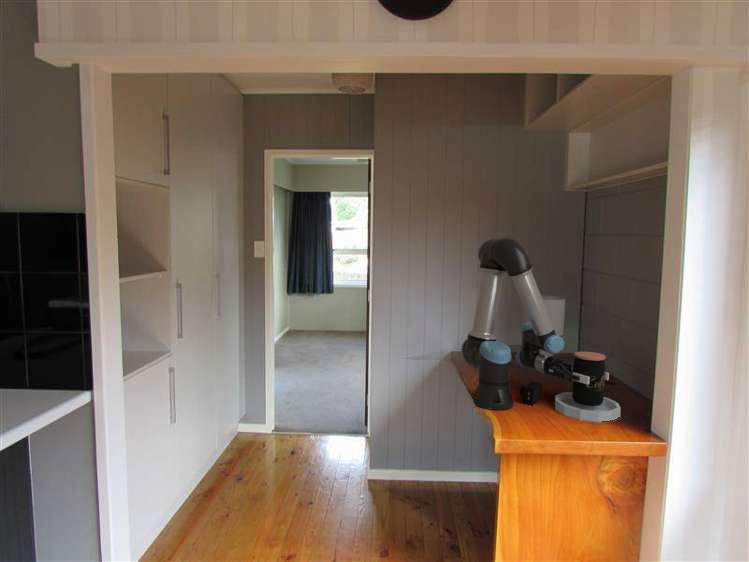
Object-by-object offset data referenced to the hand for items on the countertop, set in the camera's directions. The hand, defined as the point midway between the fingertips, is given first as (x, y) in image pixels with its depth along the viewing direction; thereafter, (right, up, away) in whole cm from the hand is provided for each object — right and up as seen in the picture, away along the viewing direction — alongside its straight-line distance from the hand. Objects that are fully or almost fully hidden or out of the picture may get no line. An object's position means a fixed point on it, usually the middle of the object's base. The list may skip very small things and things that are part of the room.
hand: (598, 378), depth 171 cm
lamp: (+4, -8, +71) cm, 72 cm away
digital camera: (-20, -12, +14) cm, 28 cm away
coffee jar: (-2, -10, +4) cm, 11 cm away
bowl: (-2, -13, +5) cm, 14 cm away
